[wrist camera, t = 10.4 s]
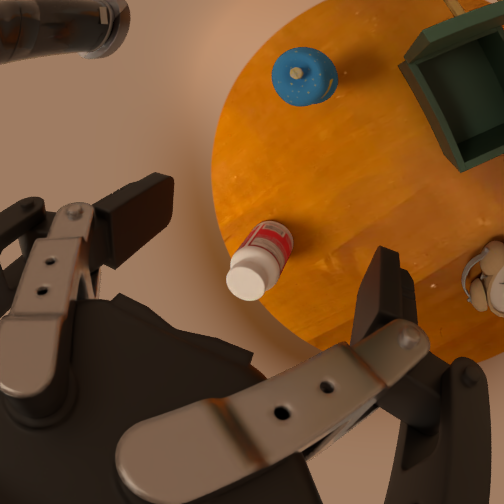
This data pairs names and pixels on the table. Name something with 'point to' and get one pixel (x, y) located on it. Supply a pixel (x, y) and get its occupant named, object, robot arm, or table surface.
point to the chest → (463, 97)
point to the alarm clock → (488, 279)
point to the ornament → (304, 76)
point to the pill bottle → (259, 260)
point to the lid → (456, 28)
